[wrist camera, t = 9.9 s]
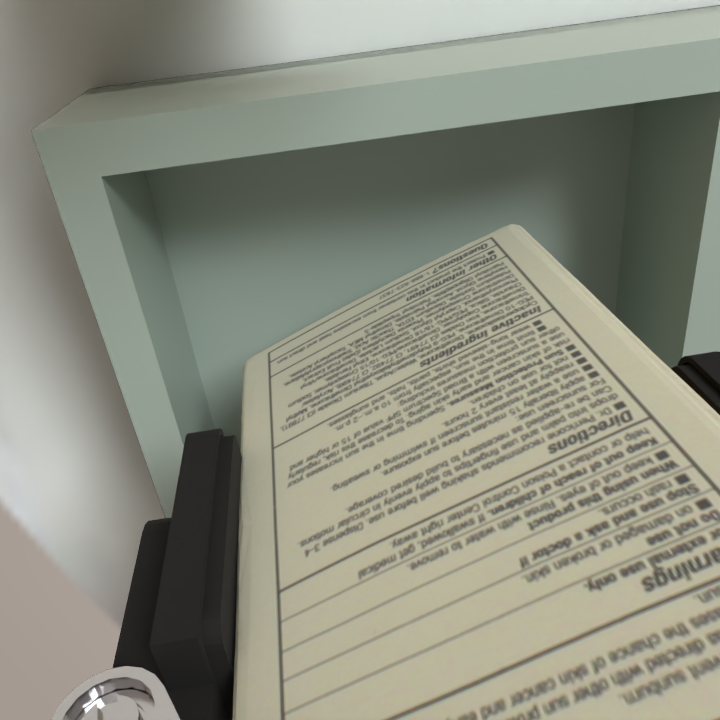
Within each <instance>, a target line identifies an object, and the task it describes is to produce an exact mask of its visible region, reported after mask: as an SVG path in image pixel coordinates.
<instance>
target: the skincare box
mask: <svg viewBox="0 0 720 720" xmlns="http://www.w3.org/2000/svg"><path fill="white" fill-rule="evenodd" d="M241 424H242V426H241V456H242V462H241V482H240V503H239V530H238V555H237V595H236V634H235V659H234V689H233V719H232V720H720V415H719V414H718V413H717V412H716V411H715V410H714V409H713V408H712V407H711V406H710V405H709V404H708V403H707V402H706V401H705V400H704V399H703V398H701V397H700V396H699V395H698V394H697V393H696V392H695V391H694V390H693V389H692V388H691V387H690V386H689V385H688V384H686V383H685V382H684V381H683V380H682V379H681V378H680V377H679V376H678V375H677V374H676V373H675V372H674V371H673V370H672V369H670V368H669V367H668V366H667V365H666V364H665V363H664V362H663V361H662V360H661V359H660V358H659V357H658V356H657V355H655V354H654V353H653V352H652V351H651V350H650V349H649V348H648V347H647V346H646V345H645V344H644V343H643V342H642V341H641V340H640V339H639V338H638V337H637V336H636V335H634V334H633V333H632V332H631V331H630V330H629V329H628V328H627V327H626V326H625V325H624V324H623V323H622V322H621V321H620V320H619V319H618V318H617V317H616V316H615V315H614V314H613V313H611V312H610V311H609V310H608V309H607V308H606V307H605V306H604V305H603V304H602V303H601V302H600V301H599V300H598V299H597V298H596V297H595V296H594V295H593V294H592V293H591V292H590V291H589V290H588V289H587V288H586V287H585V286H584V285H583V284H581V283H580V282H579V281H578V280H577V279H576V278H575V277H574V276H573V275H572V274H571V273H570V272H569V271H568V270H567V269H565V268H564V267H563V266H562V265H561V264H560V263H559V262H558V261H557V260H556V259H555V258H554V257H553V256H552V255H551V254H550V253H549V252H548V251H547V250H546V249H545V248H543V247H542V246H541V245H540V244H539V243H538V242H537V241H536V240H535V239H534V238H533V237H532V236H531V235H530V234H529V233H528V232H527V231H526V230H525V229H524V228H522V227H521V226H520V225H516V224H510V225H507V226H504V227H502V228H500V229H498V230H496V231H494V232H492V233H490V234H488V235H486V236H483V237H481V238H479V239H477V240H475V241H472V242H470V243H468V244H466V245H464V246H462V247H461V248H459V249H457V250H454V251H452V252H450V253H448V254H446V255H444V256H442V257H439V258H438V259H436V260H434V261H432V262H430V263H427V264H425V265H423V266H422V267H420V268H418V269H416V270H414V271H412V272H410V273H408V274H406V275H404V276H402V277H400V278H398V279H396V280H394V281H392V282H390V283H388V284H386V285H384V286H382V287H380V288H379V289H377V290H375V291H373V292H371V293H369V294H367V295H365V296H363V297H361V298H359V299H357V300H355V301H353V302H351V303H350V304H348V305H346V306H344V307H342V308H340V309H338V310H336V311H335V312H333V313H331V314H329V315H327V316H325V317H324V318H322V319H320V320H318V321H316V322H314V323H312V324H310V325H309V326H307V327H305V328H303V329H301V330H299V331H297V332H296V333H294V334H292V335H290V336H289V337H287V338H285V339H283V340H281V341H279V342H277V343H276V344H274V345H272V346H270V347H269V348H267V349H265V350H263V351H261V352H259V353H257V354H256V355H254V356H252V357H250V358H249V359H247V360H246V362H245V363H244V366H243V390H242V415H241Z"/></svg>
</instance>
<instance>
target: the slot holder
mask: <svg viewBox="0 0 720 720" xmlns="http://www.w3.org/2000/svg"><path fill="white" fill-rule="evenodd" d="M31 132H32V135H33V138H34V141H35V144H36V147H37V150H38V153H39V155H40V158H41V161H42V164H43V167H44V170H45V173H46V176H47V178H48V181H49V184H50V187H51V190H52V193H53V196H54V199H55V202H56V204H57V207H58V210H59V213H60V216H61V219H62V222H63V225H64V227H65V230H66V233H67V236H68V239H69V242H70V245H71V248H72V250H73V253H74V256H75V259H76V262H77V265H78V268H79V271H80V274H81V276H82V279H83V282H84V285H85V288H86V291H87V294H88V297H89V299H90V302H91V305H92V308H93V311H94V314H95V317H96V320H97V322H98V325H99V328H100V331H101V334H102V337H103V340H104V343H105V345H106V348H107V351H108V354H109V357H110V360H111V363H112V366H113V369H114V371H115V374H116V377H117V380H118V383H119V386H120V389H121V392H122V394H123V397H124V400H125V403H126V406H127V409H128V412H129V415H130V417H131V420H132V423H133V426H134V429H135V432H136V435H137V438H138V441H139V443H140V446H141V449H142V452H143V455H144V458H145V461H146V464H147V466H148V469H149V472H150V475H151V478H152V481H153V484H154V487H155V489H156V492H157V495H158V498H159V501H160V504H161V507H162V510H163V513H164V515H165V518H171V517H172V512H173V506H174V500H175V495H176V489H177V483H178V477H179V471H180V466H181V460H182V454H183V448H184V443H185V438H186V435H187V434H188V433H194V432H200V431H207V430H213V429H220V428H221V429H222V431H223V433H224V436H232V435H235V436H236V438H237V441H238V445H239V448H240V452H241V426H242V424H241V415H242V390H243V366H244V363H245V362H246V360H247V359H249V358H250V357H252V356H254V355H256V354H257V353H259V352H261V351H263V350H265V349H267V348H269V347H270V346H272V345H274V344H276V343H277V342H279V341H281V340H283V339H285V338H287V337H289V336H290V335H292V334H294V333H296V332H297V331H299V330H301V329H303V328H305V327H307V326H309V325H310V324H312V323H314V322H316V321H318V320H320V319H322V318H324V317H325V316H327V315H329V314H331V313H333V312H335V311H336V310H338V309H340V308H342V307H344V306H346V305H348V304H350V303H351V302H353V301H355V300H357V299H359V298H361V297H363V296H365V295H367V294H369V293H371V292H373V291H375V290H377V289H379V288H380V287H382V286H384V285H386V284H388V283H390V282H392V281H394V280H396V279H398V278H400V277H402V276H404V275H406V274H408V273H410V272H412V271H414V270H416V269H418V268H420V267H422V266H423V265H425V264H427V263H430V262H432V261H434V260H436V259H438V258H439V257H442V256H444V255H446V254H448V253H450V252H452V251H454V250H457V249H459V248H461V247H462V246H464V245H466V244H468V243H470V242H472V241H475V240H477V239H479V238H481V237H483V236H486V235H488V234H490V233H492V232H494V231H496V230H498V229H500V228H502V227H504V226H507V225H510V224H516V225H520V226H521V227H522V228H524V229H525V230H526V231H527V232H528V233H529V234H530V235H531V236H532V237H533V238H534V239H535V240H536V241H537V242H538V243H539V244H540V245H541V246H542V247H543V248H545V249H546V250H547V251H548V252H549V253H550V254H551V255H552V256H553V257H554V258H555V259H556V260H557V261H558V262H559V263H560V264H561V265H562V266H563V267H564V268H565V269H567V270H568V271H569V272H570V273H571V274H572V275H573V276H574V277H575V278H576V279H577V280H578V281H579V282H580V283H581V284H583V285H584V286H585V287H586V288H587V289H588V290H589V291H590V292H591V293H592V294H593V295H594V296H595V297H596V298H597V299H598V300H599V301H600V302H601V303H602V304H603V305H604V306H605V307H606V308H607V309H608V310H609V311H610V312H611V313H613V314H614V315H615V316H616V317H617V318H618V319H619V320H620V321H621V322H622V323H623V324H624V325H625V326H626V327H627V328H628V329H629V330H630V331H631V332H632V333H633V334H634V335H636V336H637V337H638V338H639V339H640V340H641V341H642V342H643V343H644V344H645V345H646V346H647V347H648V348H649V349H650V350H651V351H652V352H653V353H654V354H655V355H657V356H658V357H659V358H660V359H661V360H662V361H663V362H664V363H665V364H666V365H667V366H668V367H669V368H670V369H671V368H672V367H674V366H677V365H678V362H679V361H680V359H681V358H682V357H684V356H689V355H696V354H702V353H708V352H715V351H716V352H720V5H717V6H710V7H702V8H694V9H687V10H679V11H672V12H664V13H657V14H649V15H642V16H634V17H627V18H619V19H612V20H604V21H597V22H589V23H582V24H574V25H567V26H559V27H552V28H544V29H537V30H529V31H521V32H514V33H506V34H499V35H491V36H484V37H476V38H469V39H461V40H454V41H446V42H439V43H431V44H424V45H416V46H409V47H401V48H394V49H386V50H379V51H371V52H364V53H356V54H348V55H341V56H333V57H326V58H318V59H311V60H303V61H296V62H288V63H281V64H273V65H266V66H258V67H251V68H243V69H236V70H228V71H221V72H213V73H206V74H198V75H190V76H183V77H175V78H168V79H160V80H153V81H145V82H138V83H130V84H123V85H115V86H108V87H100V88H93V89H89V90H87V91H86V92H85V93H83V94H82V95H80V96H79V97H78V98H76V99H75V100H73V101H72V102H71V103H69V104H68V105H66V106H65V107H64V108H62V109H61V110H60V111H58V112H57V113H55V114H54V115H53V116H51V117H50V118H48V119H47V120H46V121H44V122H43V123H41V124H40V125H39V126H37V127H36V128H34V129H33V130H32V131H31Z"/></svg>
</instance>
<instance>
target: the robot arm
mask: <svg viewBox="0 0 720 720" xmlns="http://www.w3.org/2000/svg"><path fill="white" fill-rule="evenodd" d="M671 369H672V370H673V371H674V372H675V373H676V374H677V375H678V376H679V377H680V378H681V379H682V380H683V381H684V382H685V383H686V384H688V385H689V386H690V387H691V388H692V389H693V390H694V391H695V392H696V393H697V394H698V395H699V396H700V397H701V398H703V399H704V400H705V401H706V402H707V403H708V404H709V405H710V406H711V407H712V408H713V409H714V410H715V411H716V412H717V413H718V414H719V415H720V352H716V351H715V352H708V353H702V354H696V355H689V356H684V357H682V358H681V359H680V361H679V362H678V365H677V366H674V367H672V368H671ZM241 462H242V456H241V452H240V448H239V445H238V441H237V438H236V436H235V435H232V436H224V433H223V431H222V429H221V428H220V429H213V430H207V431H200V432H194V433H188V434H187V435H186V438H185V443H184V448H183V454H182V460H181V466H180V471H179V477H178V483H177V489H176V495H175V500H174V506H173V512H172V517H171V518H165V519H159V520H152V521H148V522H147V523H146V524H145V526H144V529H143V532H142V537H141V541H140V546H139V551H138V555H137V560H136V564H135V569H134V573H133V578H132V582H131V587H130V592H129V596H128V601H127V605H126V610H125V614H124V619H123V623H122V628H121V633H120V637H119V642H118V647H117V651H116V655H115V660H114V664H113V668H112V669H108V670H105V671H103V672H101V673H99V674H96V675H94V676H92V677H90V678H89V679H87V680H86V681H84V682H83V683H81V684H80V685H79V686H77V687H76V688H75V689H73V690H72V691H71V692H70V694H69V695H68V696H67V697H66V698H65V699H64V700H63V701H62V702H61V703H60V704H59V706H58V707H57V709H56V711H55V713H54V714H53V716H52V718H51V720H232V719H233V689H234V659H235V634H236V595H237V555H238V530H239V503H240V482H241Z"/></svg>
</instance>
